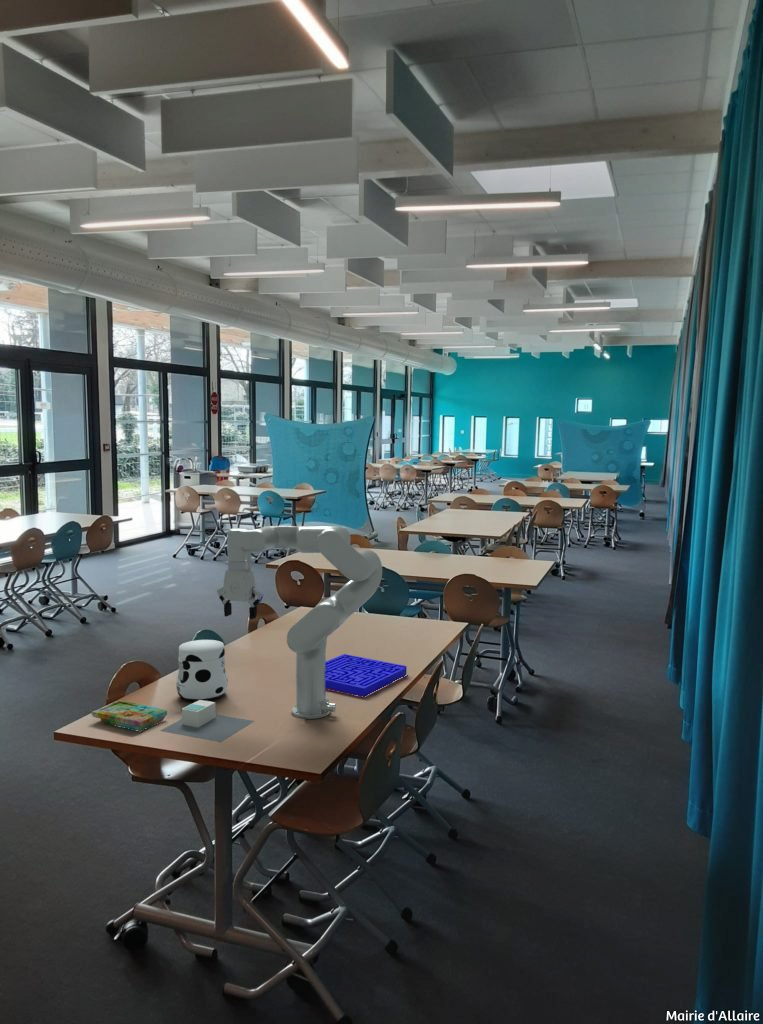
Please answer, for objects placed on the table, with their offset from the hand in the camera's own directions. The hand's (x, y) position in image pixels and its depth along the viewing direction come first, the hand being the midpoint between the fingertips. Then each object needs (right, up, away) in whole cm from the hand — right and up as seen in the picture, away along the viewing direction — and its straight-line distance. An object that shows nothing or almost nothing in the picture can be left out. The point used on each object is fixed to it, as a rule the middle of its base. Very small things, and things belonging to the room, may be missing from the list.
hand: (240, 617), depth 247 cm
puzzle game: (-33, -32, -11) cm, 47 cm away
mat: (-7, -32, -16) cm, 36 cm away
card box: (-11, -31, -12) cm, 35 cm away
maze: (+36, -28, +32) cm, 56 cm away
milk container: (-15, -29, +13) cm, 36 cm away
